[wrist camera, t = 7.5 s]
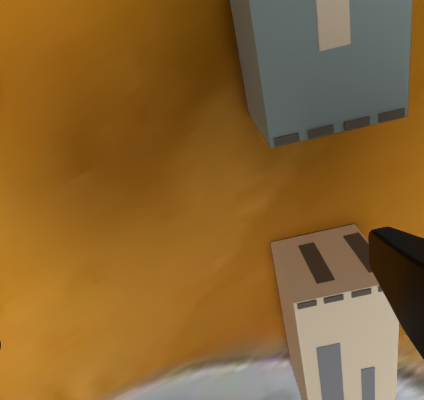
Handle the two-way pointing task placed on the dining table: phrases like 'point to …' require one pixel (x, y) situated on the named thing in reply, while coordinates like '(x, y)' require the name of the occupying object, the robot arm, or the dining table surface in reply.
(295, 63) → the stub
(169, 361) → the dining table surface
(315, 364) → the block
